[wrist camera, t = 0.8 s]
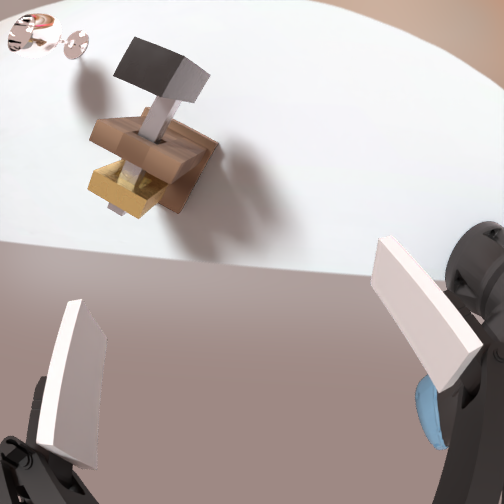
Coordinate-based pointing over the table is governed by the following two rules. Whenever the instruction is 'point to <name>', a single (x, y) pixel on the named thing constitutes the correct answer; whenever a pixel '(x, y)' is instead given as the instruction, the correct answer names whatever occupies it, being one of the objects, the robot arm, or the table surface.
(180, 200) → the bearing frame
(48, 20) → the wineglass
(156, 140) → the grey hammer
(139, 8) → the table surface
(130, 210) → the block
